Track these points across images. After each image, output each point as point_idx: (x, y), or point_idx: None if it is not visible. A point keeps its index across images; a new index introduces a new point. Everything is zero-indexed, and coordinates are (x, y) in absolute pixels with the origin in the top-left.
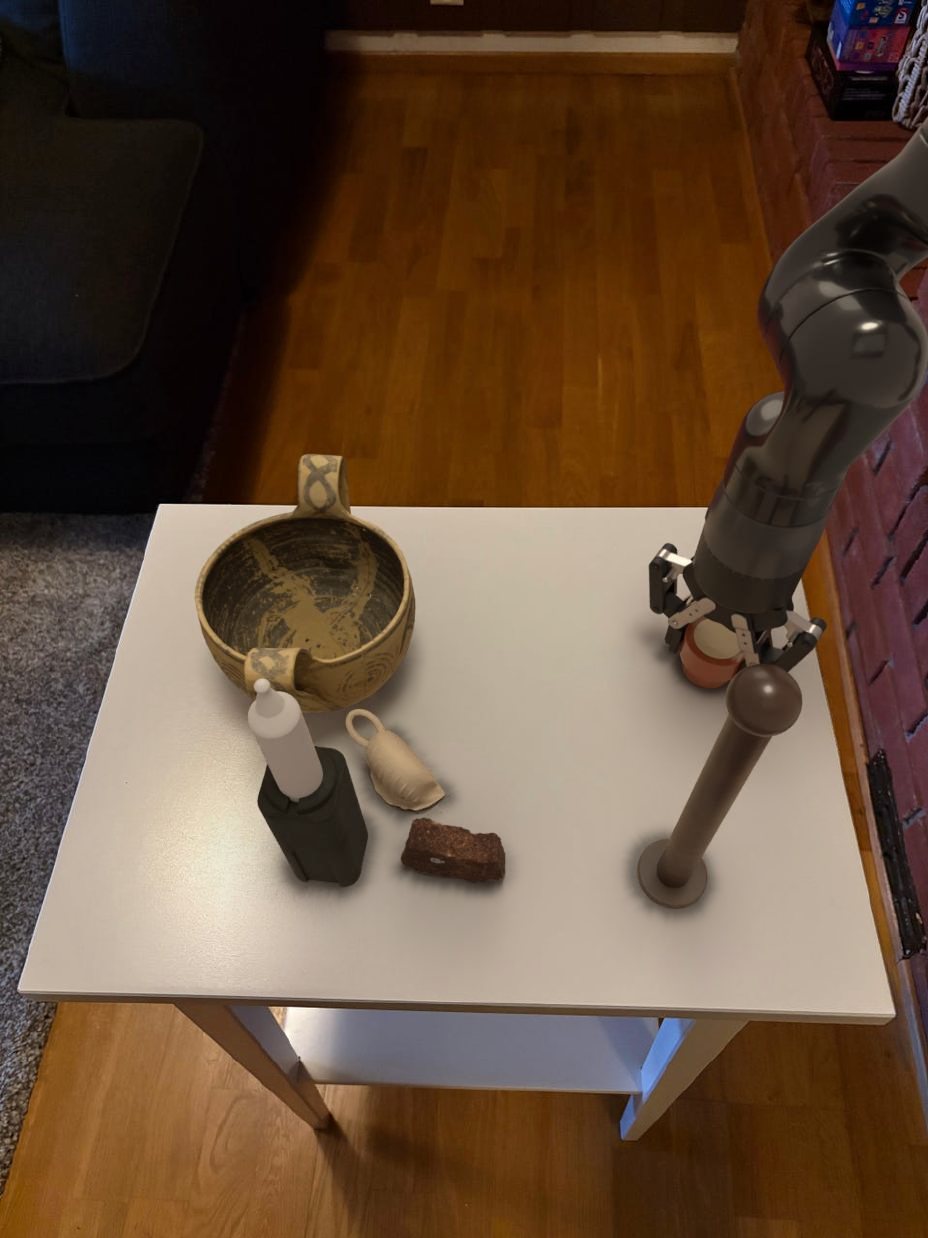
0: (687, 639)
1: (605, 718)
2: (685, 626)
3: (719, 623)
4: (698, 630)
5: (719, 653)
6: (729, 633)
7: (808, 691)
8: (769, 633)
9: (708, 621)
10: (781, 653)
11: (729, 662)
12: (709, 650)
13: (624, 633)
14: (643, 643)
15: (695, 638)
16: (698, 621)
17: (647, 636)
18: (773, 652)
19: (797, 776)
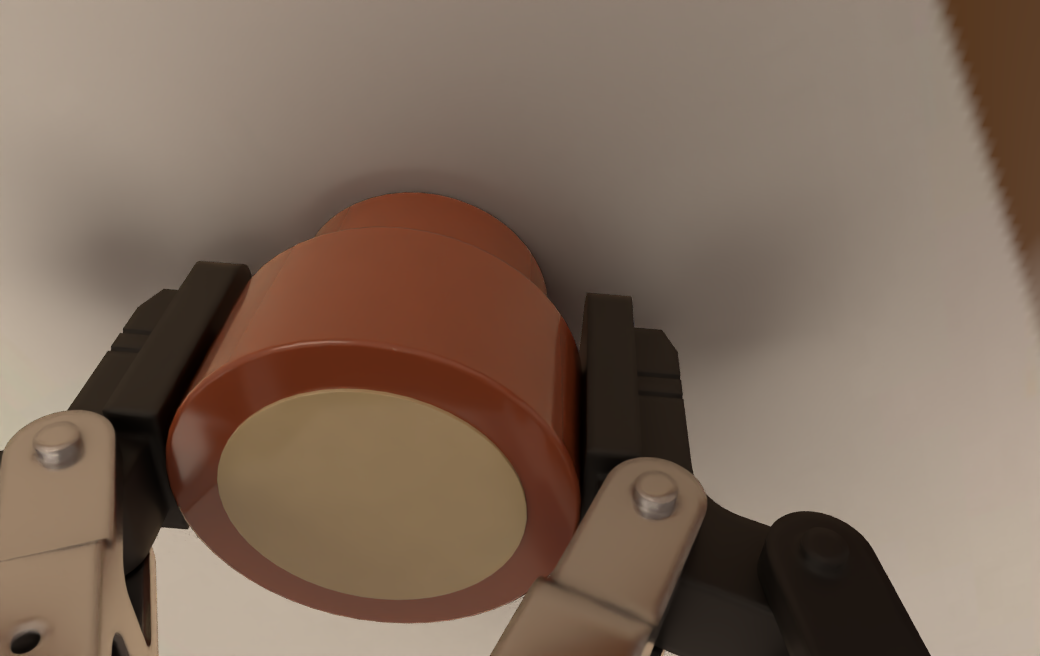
0: (238, 565)
1: (241, 599)
2: (172, 498)
3: (316, 426)
4: (246, 511)
5: (430, 573)
6: (410, 459)
7: (954, 187)
8: (650, 650)
9: (252, 444)
10: (774, 642)
11: (503, 593)
12: (374, 577)
13: (7, 311)
14: (110, 317)
15: (267, 550)
16: (205, 459)
17: (94, 278)
18: (720, 629)
19: (940, 534)
